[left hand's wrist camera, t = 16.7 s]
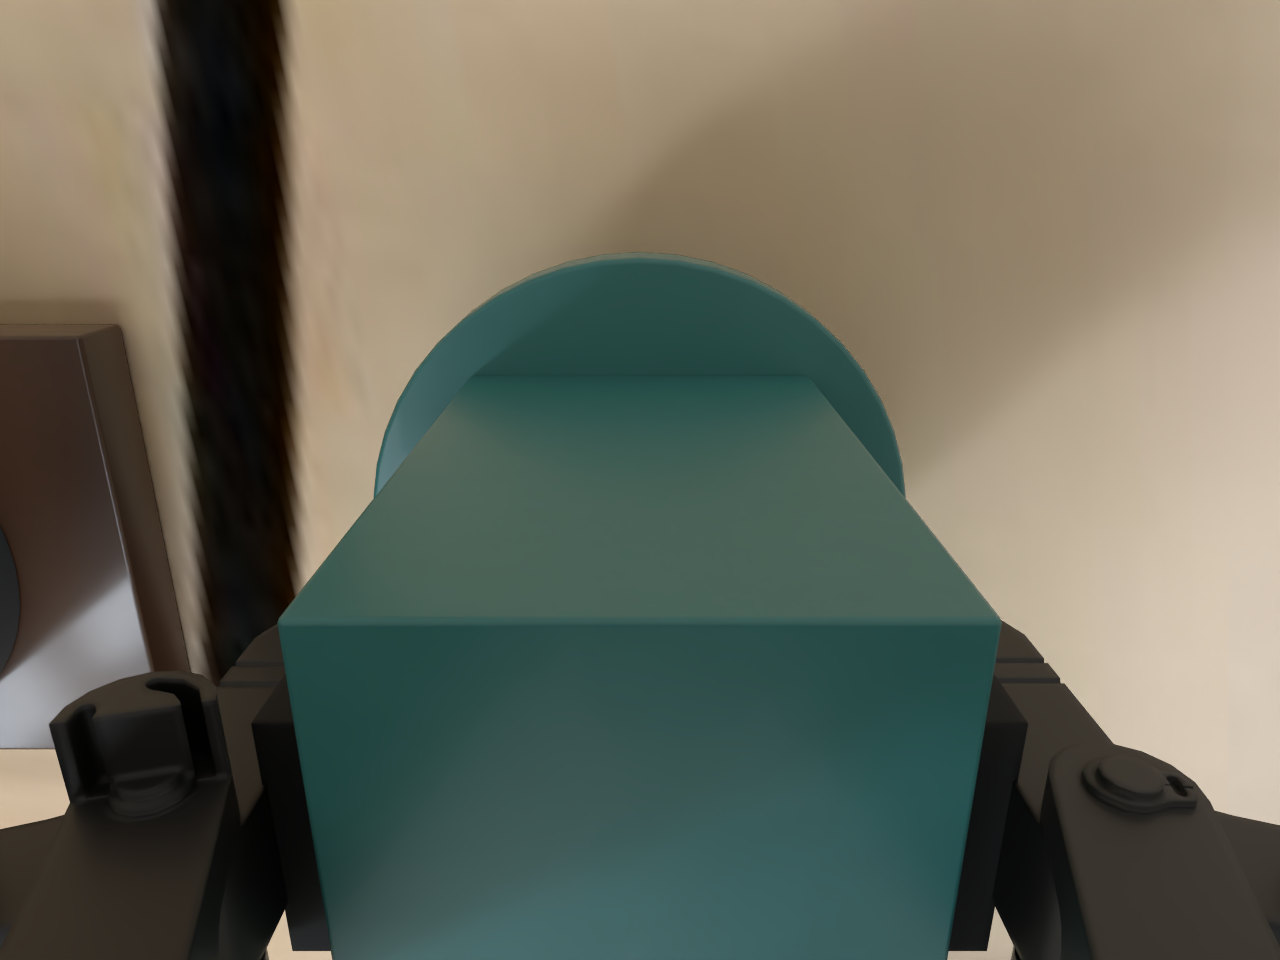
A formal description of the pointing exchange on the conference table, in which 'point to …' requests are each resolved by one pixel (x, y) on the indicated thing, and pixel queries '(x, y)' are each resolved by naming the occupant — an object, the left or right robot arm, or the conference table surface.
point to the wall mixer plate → (75, 529)
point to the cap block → (639, 645)
